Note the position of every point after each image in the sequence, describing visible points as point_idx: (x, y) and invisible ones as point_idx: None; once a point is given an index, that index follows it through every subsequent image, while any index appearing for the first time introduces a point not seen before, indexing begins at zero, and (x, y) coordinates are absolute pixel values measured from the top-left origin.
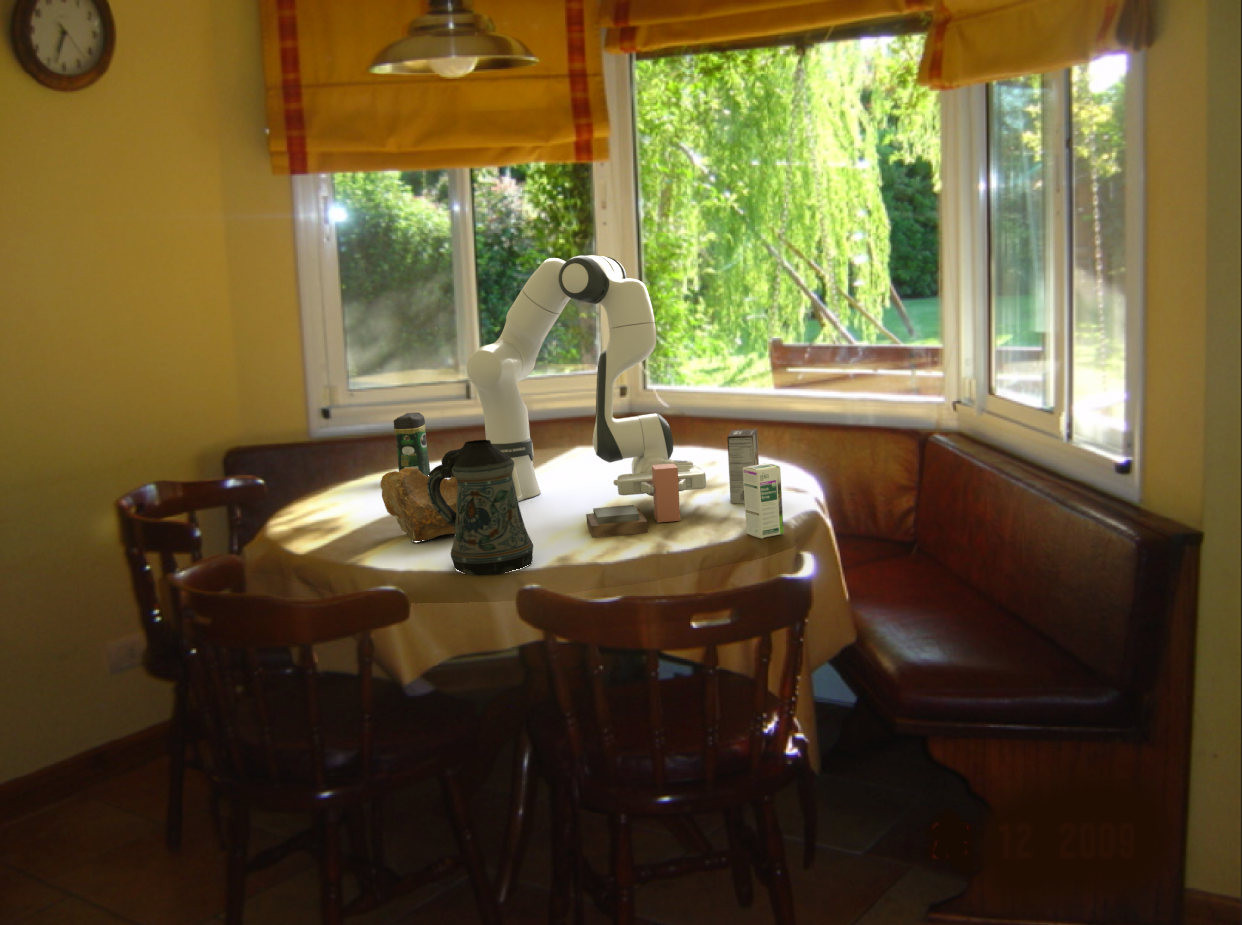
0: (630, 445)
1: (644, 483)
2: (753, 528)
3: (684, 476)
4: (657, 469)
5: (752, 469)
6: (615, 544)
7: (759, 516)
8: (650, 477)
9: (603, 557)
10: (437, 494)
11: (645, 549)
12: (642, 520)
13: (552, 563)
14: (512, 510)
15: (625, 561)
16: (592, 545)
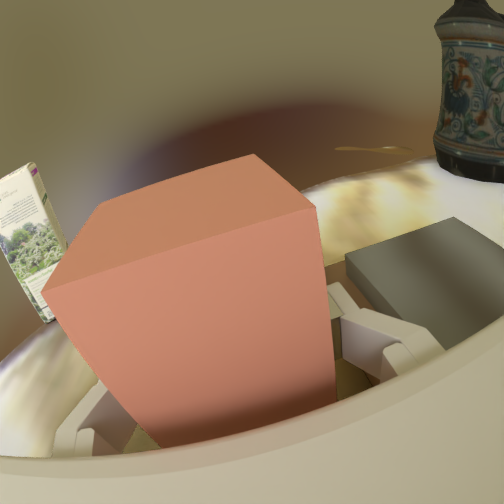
0: None
1: (396, 327)
2: None
3: (38, 457)
4: (237, 160)
5: (31, 164)
6: (368, 227)
7: (68, 245)
8: (376, 404)
9: (355, 189)
10: None
11: None
12: (334, 273)
13: (416, 171)
14: (442, 85)
15: (313, 186)
16: (413, 218)
